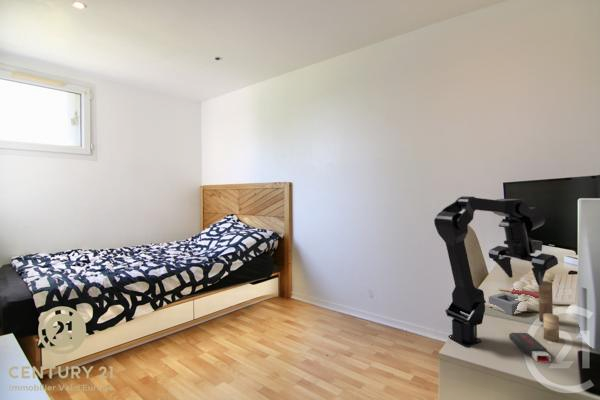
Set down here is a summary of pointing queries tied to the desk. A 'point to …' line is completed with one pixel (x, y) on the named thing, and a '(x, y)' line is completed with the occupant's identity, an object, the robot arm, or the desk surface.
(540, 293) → the tall peg
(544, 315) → the short peg
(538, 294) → the red screwdriver
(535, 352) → the usb drive
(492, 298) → the grey slotted box
